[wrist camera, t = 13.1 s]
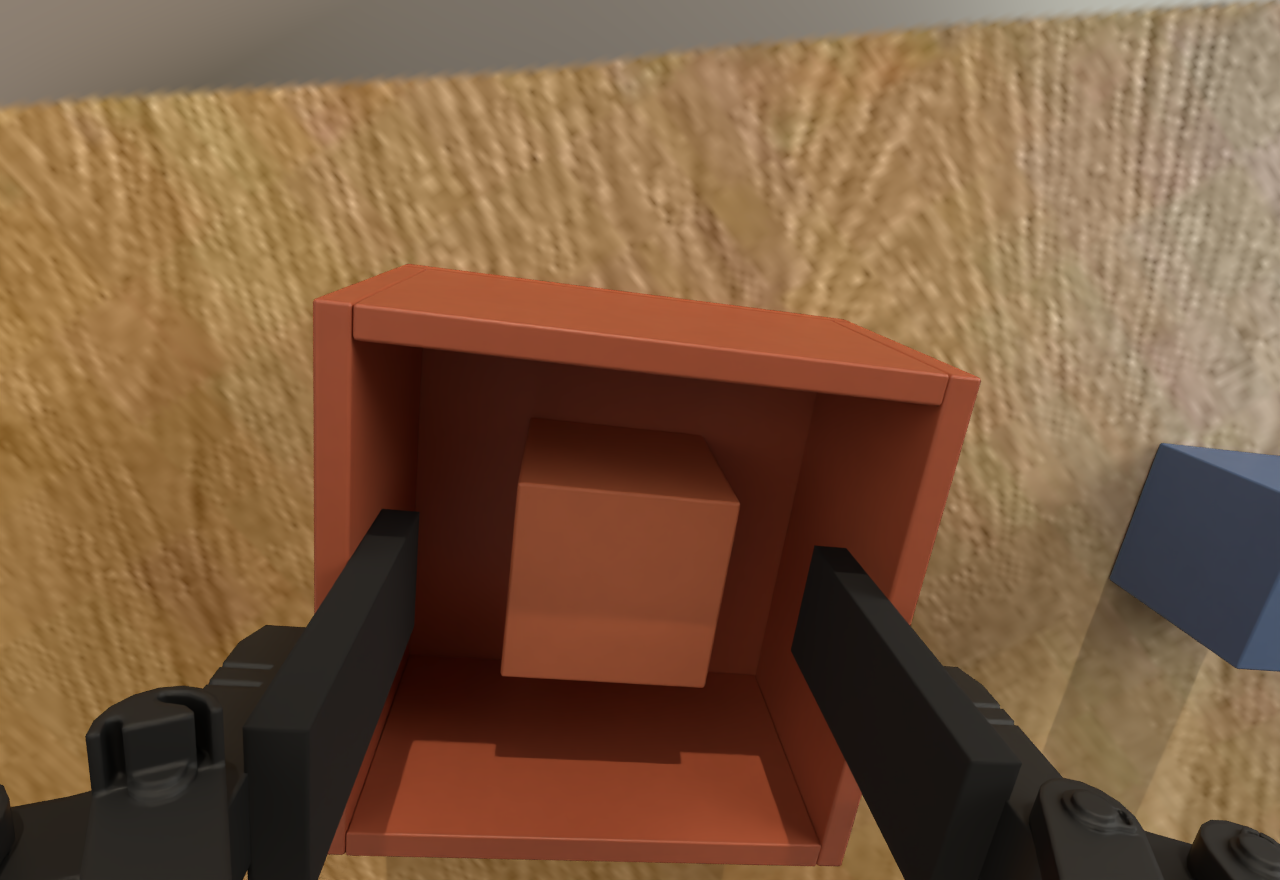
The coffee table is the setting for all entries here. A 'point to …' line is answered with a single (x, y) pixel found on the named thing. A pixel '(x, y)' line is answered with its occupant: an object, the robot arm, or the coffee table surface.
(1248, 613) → the slate block
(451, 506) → the terracotta bin
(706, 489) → the terracotta block
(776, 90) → the coffee table surface
